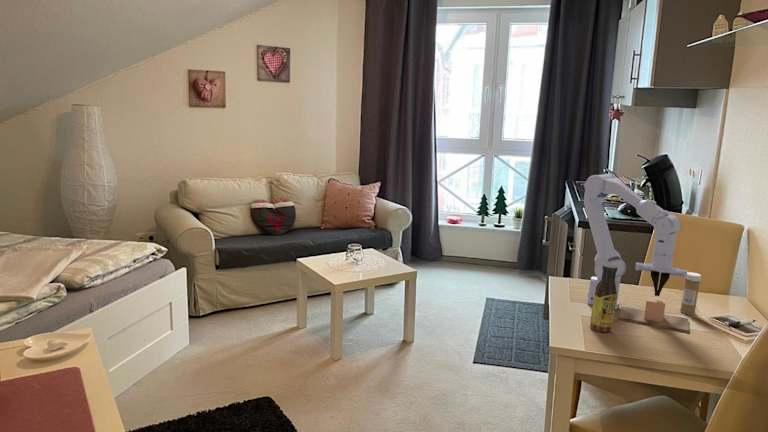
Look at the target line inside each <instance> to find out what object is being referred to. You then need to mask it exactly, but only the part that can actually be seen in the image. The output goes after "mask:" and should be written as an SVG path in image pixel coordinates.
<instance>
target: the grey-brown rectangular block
mask: <svg viewBox="0 0 768 432" xmlns="http://www.w3.org/2000/svg"><path fill="white" fill-rule="evenodd" d="M644 313H645V309H644V310H643V309H639V308H633V307H628V306H622V305H621V306H620V310H619V314H618V318H617V320H618V321H619V320H621V321H625V322H631V323H636V324H641V325H647V326H651V327H657V328H662V329H667V330H670V331H671V330H672V331H675V332H676V331H678V332H682V333H686V334H689V333H690V326H689V318H686V317H681V316H676V315H672V314H671V315H670V314H667V313H666V314H665V313H664V317H663V322H658V321H652V320H647V319H644Z"/></svg>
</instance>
